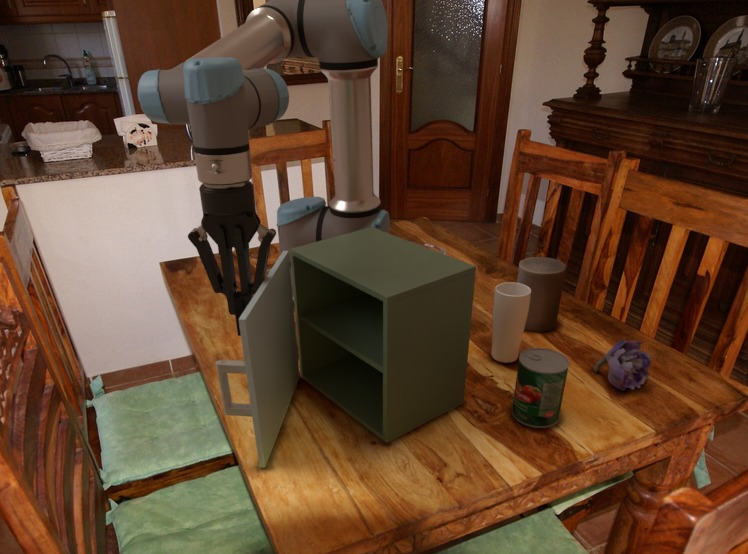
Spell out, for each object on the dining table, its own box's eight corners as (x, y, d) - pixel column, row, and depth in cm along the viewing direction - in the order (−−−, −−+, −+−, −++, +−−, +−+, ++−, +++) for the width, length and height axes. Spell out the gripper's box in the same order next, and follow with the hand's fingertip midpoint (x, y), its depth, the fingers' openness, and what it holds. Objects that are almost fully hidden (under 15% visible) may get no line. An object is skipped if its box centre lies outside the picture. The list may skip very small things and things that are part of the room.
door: (226, 465, 89) (200, 317, 76) (268, 376, 112) (253, 249, 98) (265, 467, 89) (245, 319, 76) (299, 377, 111) (288, 250, 98)
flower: (578, 345, 106) (636, 336, 99) (594, 346, 112) (650, 338, 106) (585, 395, 105) (644, 389, 98) (601, 393, 111) (657, 388, 105)
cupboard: (386, 443, 93) (387, 297, 80) (300, 376, 111) (289, 248, 98) (463, 403, 102) (476, 266, 89) (372, 347, 120) (371, 226, 107)
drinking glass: (522, 367, 112) (533, 297, 105) (487, 364, 113) (494, 295, 106) (520, 350, 118) (530, 282, 110) (487, 347, 119) (494, 280, 112)
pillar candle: (566, 326, 126) (577, 262, 119) (531, 336, 123) (541, 270, 115) (535, 309, 134) (545, 247, 126) (502, 318, 131) (509, 255, 123)
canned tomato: (567, 414, 99) (579, 359, 93) (543, 434, 94) (553, 378, 89) (527, 395, 104) (535, 343, 98) (502, 414, 99) (509, 359, 94)
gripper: (171, 188, 77) (197, 342, 89) (266, 189, 77) (279, 344, 88) (189, 176, 84) (211, 320, 96) (276, 176, 83) (287, 322, 95)
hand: (244, 331), depth 92 cm, fingers closed
